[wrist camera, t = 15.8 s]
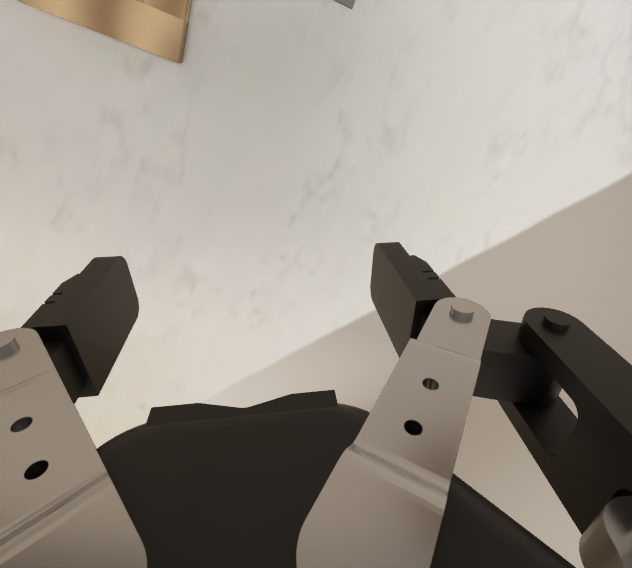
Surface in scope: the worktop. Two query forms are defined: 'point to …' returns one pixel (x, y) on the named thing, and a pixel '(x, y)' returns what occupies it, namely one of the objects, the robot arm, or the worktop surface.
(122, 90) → the worktop surface
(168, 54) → the oak socket
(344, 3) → the grey mat
